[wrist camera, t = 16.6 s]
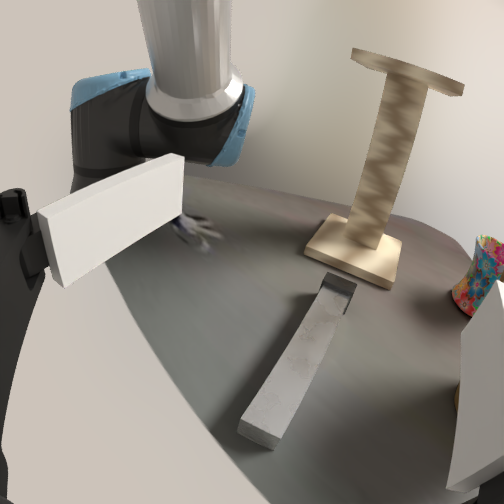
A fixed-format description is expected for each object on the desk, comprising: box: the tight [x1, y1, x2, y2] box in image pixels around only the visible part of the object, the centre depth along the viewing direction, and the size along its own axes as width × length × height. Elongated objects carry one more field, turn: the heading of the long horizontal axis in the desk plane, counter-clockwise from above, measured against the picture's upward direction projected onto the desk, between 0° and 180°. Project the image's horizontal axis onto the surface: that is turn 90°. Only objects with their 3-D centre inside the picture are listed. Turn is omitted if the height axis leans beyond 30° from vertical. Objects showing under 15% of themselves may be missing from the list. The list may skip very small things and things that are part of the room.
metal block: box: [237, 272, 357, 451], centre depth 31 cm, size 22×4×4 cm, turn 152°
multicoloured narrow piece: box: [452, 235, 504, 317], centre depth 39 cm, size 12×9×11 cm
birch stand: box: [304, 48, 464, 290], centre depth 43 cm, size 14×14×30 cm
